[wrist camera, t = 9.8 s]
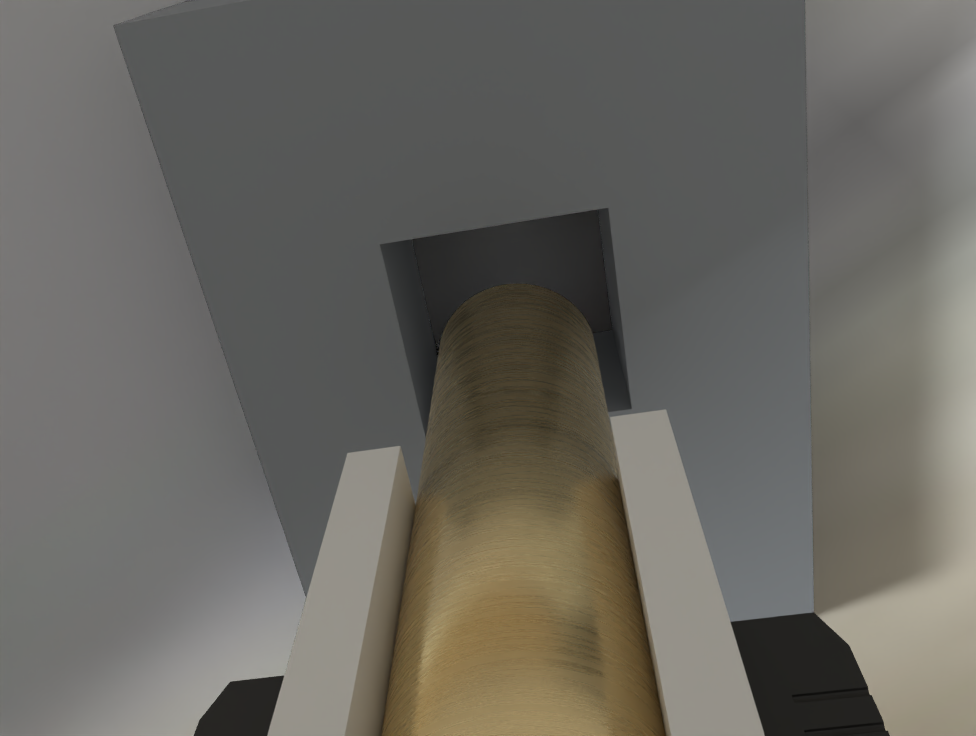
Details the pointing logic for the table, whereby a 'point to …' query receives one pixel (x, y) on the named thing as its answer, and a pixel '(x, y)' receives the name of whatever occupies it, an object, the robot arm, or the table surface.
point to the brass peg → (520, 540)
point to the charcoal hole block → (497, 201)
